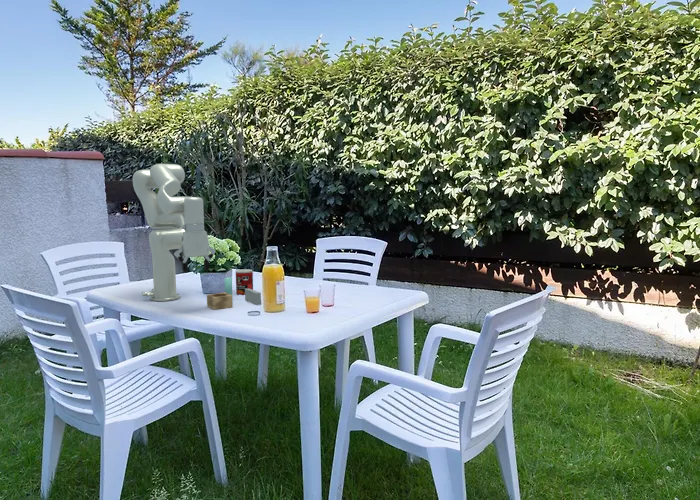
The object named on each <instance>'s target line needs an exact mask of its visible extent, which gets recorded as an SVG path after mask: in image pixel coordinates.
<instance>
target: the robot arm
mask: <svg viewBox="0 0 700 500" xmlns="http://www.w3.org/2000/svg"><path fill="white" fill-rule="evenodd" d="M185 177H186V173H185V170H184V168H183V167H182V166H181V165H180V164H177V163H176V164H174V163H155V164H154V165H152V166H151V167H150V169H148V168H147V169H146V168H145V169H140V170H136V171H135V172H134V173H133V175H132V186H133V190H134V192H135V194H136V196H137V198H138V199H139V201H140V204H141V206H142V209H143V212H144V217H145V220H146V222H147V225H148V226H149V227H150V228H151V229H154V230H152V231H151V232H150V233H149V235H148V243H149V247H150V251H151V258H152V259H151V262H152V279H153V284H152V285H153V288H151V290H149V291H143V292H142V297H150V301H153V302H167V301H175V300H178V299H180V298H181V295H180V294H179V293H177V277H176V276H177V275H176V261H175V257H176V258H177V260H179V262H181V263H182V264H181V265H182V266H181V269H182V271H183V273H185V274H188V272H189V271H188V270H189V269H188V268H189V267H188V262H187V261H188V260H189V258H195V257H196V258H197V257H203V259H204V260H203V270H204V271H206V272H209V269H210V261H211V260H212V258H213V257H214V255H215V253H216V249H215V248H213V247H211V246H210V243H209V236H208V232H207V231H206V230H205V218H204V214H205V212H204V210H205V209H204V199H203V198H202V197H200V196H199V197H198V196H197V197H196V196H176V195H177V194H179V192H180V191H181V186H182V185H181V184H182V183H183V182H184V180H185V179H186V178H185ZM152 189H158V191H157V193H156V192H155V191H154V190H152ZM170 250H171V251H172V250H175V252H173V254H172V253H171V252H170ZM180 253H181V255H182V256H181V255H180ZM174 256H175V257H174Z"/></svg>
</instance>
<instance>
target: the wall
mask: <svg viewBox="0 0 700 500" xmlns="http://www.w3.org/2000/svg"><path fill="white" fill-rule="evenodd" d="M261 295H262V292H260V291H256V290H254V289H253V290H252V289H245V295H244V300H245V301H246V302H249V303H250V304H254V305H256V306H257V305H262V296H261Z"/></svg>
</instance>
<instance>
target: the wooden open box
mask: <svg viewBox="0 0 700 500" xmlns="http://www.w3.org/2000/svg"><path fill="white" fill-rule="evenodd" d="M232 298H233V294H232V295H230V294H228V293H225V291H224V292H218V293H211V294H210V293H208V294H206V306H207V307H208V308H210V309H212V310H213V311H216V310H222V309H223V310H224V309H231V308H233V300H232Z"/></svg>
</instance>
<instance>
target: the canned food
mask: <svg viewBox="0 0 700 500" xmlns="http://www.w3.org/2000/svg"><path fill="white" fill-rule="evenodd" d="M235 287H236V288H235V290H236V294H237V295H240V296H241V295H242V296H245V289H252V290H254V271H253V269H249V268H248V269H247V268H243V269H237V270H235Z"/></svg>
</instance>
